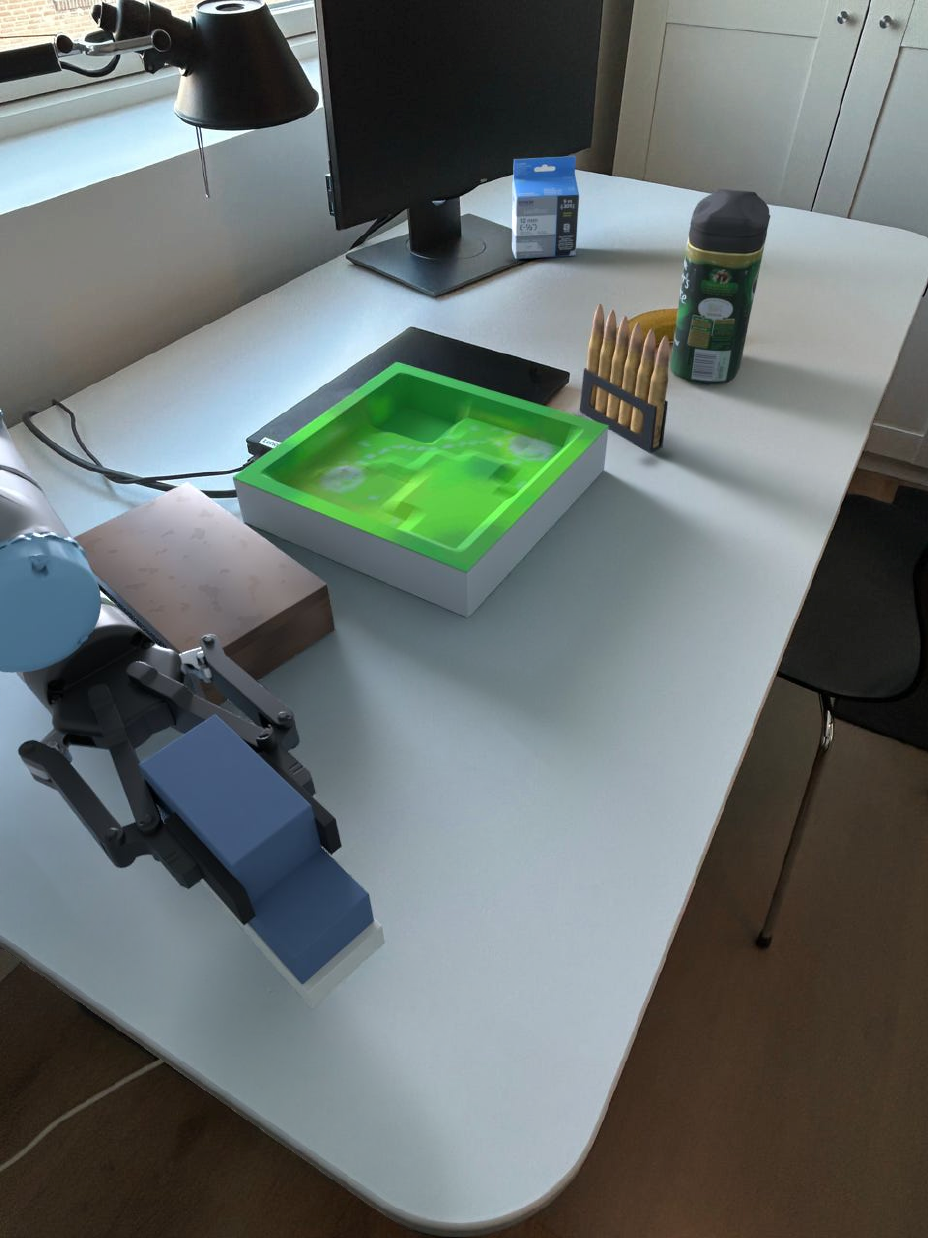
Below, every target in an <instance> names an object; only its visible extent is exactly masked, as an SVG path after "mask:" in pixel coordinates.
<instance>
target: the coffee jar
mask: <svg viewBox="0 0 928 1238" xmlns="http://www.w3.org/2000/svg"><path fill="white" fill-rule="evenodd" d="M770 219H771V214H770V207H769V206H768V204H767V203H766V202H765V200H763V199H762V198H761V197H760V196H759V195H758V193H756V192H755V191H749V190H739V189H723V188H719V189H717V190H716V191H715V192H713V193H711V194H709V195H707V196H706V197H704V198H702V199H701V200H700V201H699V202H698V203H697V204H696V206H695V208H694V210H693V212H692V216H691V220H690V227H689V231H688V236H687V242H686V249H685V255H684V261H683V262H684V263H683V267H682V268H683V269H682V275H681V283H680V290H679V298H678V306H677V313H676V320H675V327H674V334H673V341H672V347H671V348H672V349H671V354H670V355H671V357H670V371H671V373H672V374H673V376H675V377H678V378H680V379H682V380H684V381H687V382H689V383H692V384H695V385H705V386H710V385H717V384H718V385H719V384H727V383H730V382H731V381H733V379H735V378H736V376H737V374H738V372H739V371H740V367H741V362H742V360H743V359H742V358H743V353H744V349H745V344H746V339H747V334H748V328H749V323H750V318H751V313H752V308H753V303H754V298H755V295H756V290H757V284H758V279H759V275H760V269H761V264H762V259H763V255H764V250H765V244H766V239H767V234H768V229H769V225H770Z"/></svg>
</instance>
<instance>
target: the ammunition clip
mask: <svg viewBox="0 0 928 1238" xmlns="http://www.w3.org/2000/svg"><path fill="white" fill-rule="evenodd" d="M603 307H604V306H603V304H602V303H599V304H598V306H597V307H596V310H595V312H594V317H593V320H592V326H591V327H592V328H591V333H590V340H589V342H588V348H587V359H586V360H587V361H586V367H585V368H583V374H582V384H581V393H580V401H579V412H580V413H581V414H583V415H585V416H586V417H588V418H590V419H591V420H592V421H596V422H599V423H602V424H606V425H609V428H608V430H610V431H612V432H613V433H615V434H617V435H618V436H620V437H622V438H624V439H626V440H627V441H628V442H631V443H632V444H633V445H635V446H637V447H638V448H640V449H642V450H643V451H646V452H647V453H648V454H651V453H653V452H656V451H657V450H658V449H661V448H663V447H664V438H665V431H666V430H665V429H666V421H667V414H668V405H669V404H668V403H669V402H668V401H667V400H666V398H667V393H668V392H667V390H668V384H669V363H670V362H669V361H670V341H669V338H668V335H664V336H663V337H662V339H661V341H660V344H659V346H658V349H657V352H656V348H657V347H656V335H655V330H654V329H653V328H650V330H649V331H648V333H647V335H646V337H645V340H644V343H643V332H642V325H641V323H640V322H639V321H637V322H636V323H635V325H634V327H633V329H632V332H631V335H630V324H629V320H628V317H627V315H624V316H623V318H622V319H621V321H620V324H619V327H618V326H617V315H616V312H615V310H614V309H611V310H610V312H609V314H608V316H607V319H606V323H605V313H604V308H603ZM617 330H618V331H617ZM642 346H643V348H642Z"/></svg>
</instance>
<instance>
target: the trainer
mask: <svg viewBox="0 0 928 1238" xmlns="http://www.w3.org/2000/svg"><path fill="white" fill-rule="evenodd" d="M139 767H140V770H141V772H142V774H143V776H144V778H145V780H146V783H147V785H148V787H149V789H150V791H151V793H152V796H153V798H154V800H155V802H156V804H157V807H158V809H159V812H160V814H161V817H162V820H164V819H166V818H167V817H169V816H170V815H172V814H173V813H174V812H176V813H177V814H178V816H179V817H180V818H181V819H182V820H183V821H184V822H185V823H186V824H187V826H188V827H189V828H190V829H191V830H192V831H193V832H194V833H195V834H196V835H197V837H198V838H199V839H200V840H201V841H202V842H203V843H204V844H205V845H206V847H207V848H208V849H209V850H210V851H211V852H212V853H213V854H214V855H215V857H216V858H217V859H218V860H219V861H220V862H221V863H222V864H223V865H224V866H225V868H226V869H227V870H228V871H229V872H230V873H231V874H232V875H233V876H234V878H236V879H237V880H238V881H239V882H240V883H241V885H242V886H243V887H244V888H245V889H246V891H247V894H248V896H249V899H250V902H251V904H252V907H253V909H254V912H255V915H256V916H255V917H254V918H253V919H252V920H250V921H249V922H248V923H247V924H245V925H243V924H242V923H241V922H240V921H239V920H238V918H237V917H236V916H235V915H234V914H233V913H232V912H231V910H230V909H229V908H228V907H227V906H226V905H225V904H224V902H223V901H222V900H221V899H220V898H219V897H218V895H217V894H216V893H215V892H214V891H213V890H212V889H211V887H210V886H209V885H208V884H207V883H206V882H205V881H204V879H202V880H201V881H200V882H201V883H202V885H204V887H205V888H206V889H207V890H208V891H209V893H210V894H211V895H212V896H213V897H214V898H215V899H216V900H217V902H218V903H219V904H220V905H221V906H222V908H223V909H224V910H225V911H226V912H227V913H228V915H230V917H232V919H233V920H234V921H235V922H236V923H237V925H238V926H239V927H240V928H241V929H242V931H243V932H245V934H246V936H248V937H249V938H250V940H251V941H252V942H253V943H254V944H255V946H256V947H257V948H259V951H261V952H262V954H263V955H264V956H265V957H266V958H267V959H268V960H269V961H270V963H271V964H272V965H273V966H274V967H275V969H276V970H278V972H279V973H280V974H281V975H282V976H283V978H285V980H286V981H287V982H288V983H289V985H291V987H292V988H293V989H294V990H295V991H296V992H297V994H298V995H299V996H300V997H301V998H302V1000H303V1001H305V1003H306V1004H307V1005H308V1006H309V1007H310V1008H311V1009H314V1008H315V1007H317V1006H318V1005H319V1004H320V1003H321V1002H322V1001H323V1000H324V999H325V998H327V996H328V995H330V993H332V992H333V991H334V990H335V989H336V988H337V987H338V986H339V985H341V984H342V983H343V982H344V981H345V980H346V979H347V978H348V977H349V976H350V975H352V974H353V972H355V971H356V970H357V969H358V968H359V967H360V966H361V965H362V964H364V963H365V962H366V961H367V960H368V959H370V957H371V956H373V954H375V953H376V952H377V951H378V950H379V949H380V948H381V947H382V946H383V945H384V944H385V943H386V941H385V935H384V931H383V930H384V929H383V926H382V925H381V923H379V921H377V919H376V918H375V917H374V913H373V906H372V901H371V897H370V893H369V892H368V891H367V890H366V889H365V888H364V887H363V886H362V885H361V884H360V883H359V882H357V880H356V879H355V878H354V877H353V876H352V875H351V874H350V873H349V872H347V870H346V869H344V867H342V866H341V864H340V863H338V862H337V861H336V859H334V858H333V857H332V855H331V854H329V853H328V852H327V851H326V850H325V849H324V848H323V847H322V846H321V842H320V838H319V834H318V830H317V826H316V822H315V818H314V814H313V810H312V806H311V805H310V804H309V803H308V802H307V801H306V800H305V799H304V798H303V797H302V796H301V795H300V794H299V793H298V792H297V791H296V790H295V789H293V788H292V787H291V786H290V785H289V784H288V783H287V782H286V781H285V780H284V779H283V778H282V777H281V776H280V775H279V774H278V773H277V772H276V771H275V770H274V769H273V768H272V767H270V766H269V765H268V764H267V763H266V762H265V761H264V760H263V759H262V758H261V757H260V756H259V755H258V754H257V753H256V752H255V751H254V750H253V749H252V748H251V747H250V746H248V745H247V744H246V743H245V742H244V741H243V740H242V739H241V738H240V737H239V736H238V735H237V734H236V733H235V732H234V731H233V730H232V729H231V728H230V727H229V726H228V725H226V724H225V723H224V722H223V721H222V720H221V719H220V718H219V717H218V716H217V715H216V714H215V715H213V716H212V717H210V718H208V719H207V720H205V721H204V722H202V723H201V724H199V725H198V726H196V727H195V728H193V729H192V730H190V731H189V732H187V733H186V734H182V735H181V736H180V737H178V738H176V739H175V740H173V741H171V742H170V743H169V744H167V745H165V746H164V747H162V748H161V749H160V750H158V751H157V752H154V754H152V755H150V756H149V757H147V758H145V759H144V760H143V761H141V762H140V764H139Z"/></svg>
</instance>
